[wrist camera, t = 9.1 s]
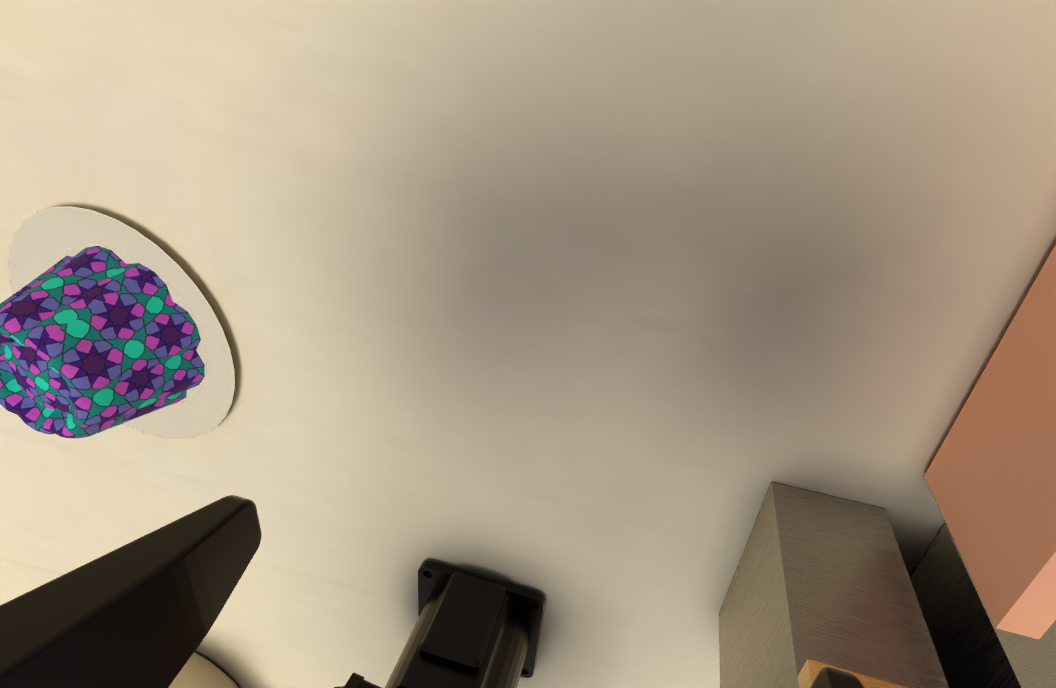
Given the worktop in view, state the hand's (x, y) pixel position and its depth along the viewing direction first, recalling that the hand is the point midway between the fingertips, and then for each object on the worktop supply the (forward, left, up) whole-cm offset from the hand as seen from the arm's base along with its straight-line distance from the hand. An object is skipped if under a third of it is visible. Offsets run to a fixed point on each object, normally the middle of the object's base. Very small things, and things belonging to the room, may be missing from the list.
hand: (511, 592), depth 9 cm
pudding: (-7, +22, -14) cm, 27 cm away
